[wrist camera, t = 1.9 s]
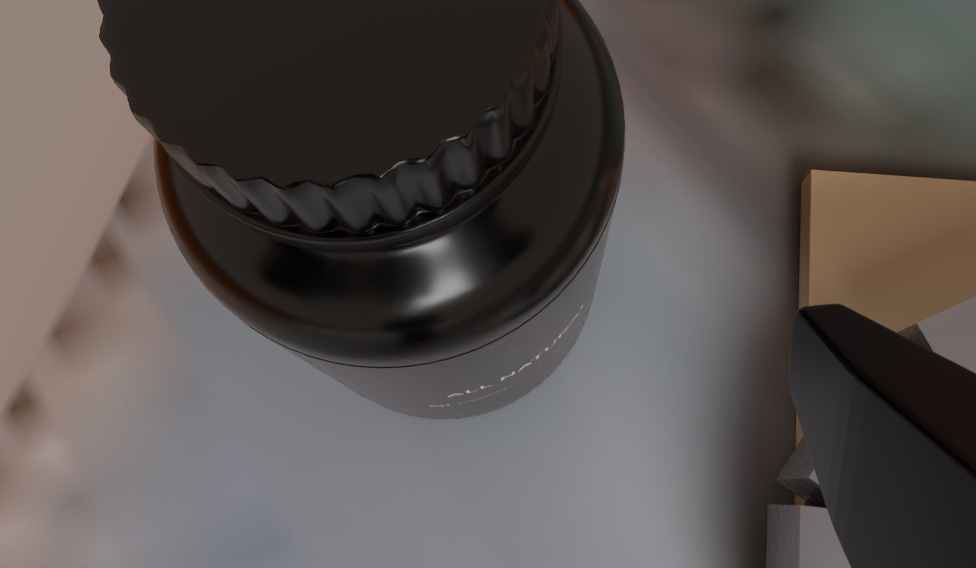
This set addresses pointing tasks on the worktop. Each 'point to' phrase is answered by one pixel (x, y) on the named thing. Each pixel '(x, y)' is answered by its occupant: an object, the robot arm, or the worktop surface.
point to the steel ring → (804, 529)
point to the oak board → (886, 247)
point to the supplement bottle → (386, 179)
